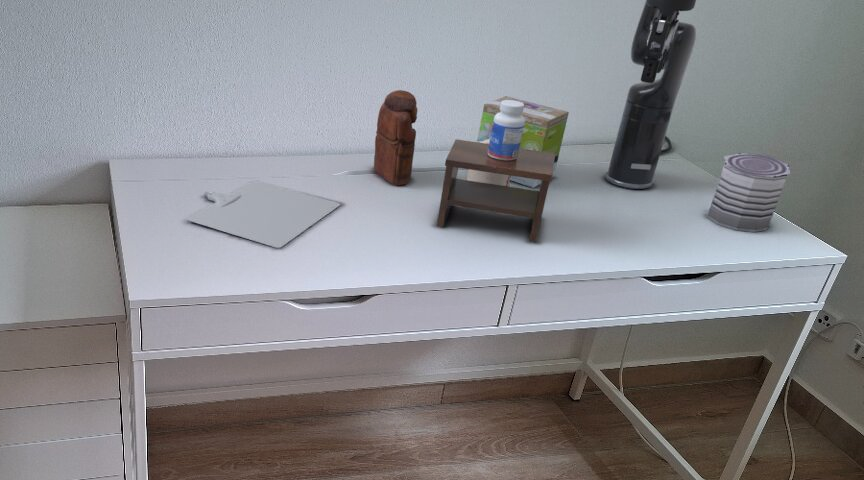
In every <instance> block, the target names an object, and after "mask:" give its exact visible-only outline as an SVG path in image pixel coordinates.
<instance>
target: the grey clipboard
mask: <svg viewBox="0 0 864 480" xmlns="http://www.w3.org/2000/svg"><path fill="white" fill-rule="evenodd" d="M203 196H204V197H207V199H208V200H209V201H212V202H213V203H211V204H209V205H207V206H206V207H204V208H202V209H200V210H199V211H197V212H195V213H194V214H191V215H190V216H188V217H187V218H186V220H187V221H189V222H192V223H195V224H197V225H201V226H203V227H207V228H211V229H214V230H217V231H220V232H224V233H226V234H227V233H228V234H230V235H233V236H238V237H240V238H244V239H247V240H250V241H253V242H257V243H259V244H262V245H266V246H269V247H272V248H277V249H281V248H282V247H284V246H285V245H287V244H288V243H289V242H291V241H292V240H293V239H295V238H297V236H299V235H300V234H302V233H303V232H305V231H306V230H308V229H309V228H311V227H312V226H313V225H315V224H316V223H317V222H319V221H320V220H321V219H323V218H325V217H326V216H327V215H329V214H330V213H332V212H333V211H334V210H336V209H337V208H339V207H340V206H341V203H339V202H336V201H333V200H330V199H329V200H328V199H325V198H321V197H318V196H315V195H311V194H307V193H304V192H300V191H296V190H293V189H290V188H286V187H282V186H278V185H275V184H271V183H267V182H264V181H260V180H252V181H250V182H249V183H247V184H245V185H243V186H241V187H239V188H238V189H236V190H234V191H233V192H231V193H221V192H217V191H211V192H208V191H204V192H203Z"/></svg>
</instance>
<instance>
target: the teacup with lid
mask: <svg viewBox="0 0 864 480" xmlns="http://www.w3.org/2000/svg"><path fill="white" fill-rule="evenodd" d="M489 142H490V139H487V140H484V141H480V142H479V143H486V144H489ZM510 177H511V176H510V175H503V174H497V173H490V172H483V171H477V170H470V169H467V172H466V178H465V180H469V181H475V182H482V183H489V184H495V185H502V186H508V187H510V181H511V180H510Z"/></svg>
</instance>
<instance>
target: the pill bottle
mask: <svg viewBox="0 0 864 480" xmlns="http://www.w3.org/2000/svg"><path fill="white" fill-rule="evenodd" d="M523 109H524V104H523V103H522V102H519V101H514V100H504V101H502V102H501V105H500V111H501V112H499V113H497V114H496V115H495V117H494V121H493V126H492V132H491V137H490V142H489V148H488V155H489V156H490V157H492V158H494V159H498V160H504V161H511V160H514V159H516V158H517V157H518V153H519V148H520V143H521V138H522V133H523V129H524V124H525V118H524V117H523V116H522V115H521V113H522V112H523Z"/></svg>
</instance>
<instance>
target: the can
mask: <svg viewBox="0 0 864 480" xmlns="http://www.w3.org/2000/svg"><path fill="white" fill-rule="evenodd" d="M790 174H791V169H790V164H789V163H788V162H785V161H782V160H780V159H777V158H776V157H774V156H770V155H766V154H759V153H749V152H739V153H734V154H729V155H724V164H723V167H722V170H721V173H720V176H719V179H718V182H717V185H716V188H715V191H714V194H713V198H712V200H711V203H710V207H709V209H708V213H707V219H708V220H710V221H711V222H713V223H715V224H716V225H717V226H720V227H724V228H727V229H729V230H734V231H738V232H747V233H748V232H749V233H758V232H763V231H767V230H768V229H769V227H770V224H771V221H772V218H773V215H774V213H775V210H776V207H777V204H778V202H779V199H780V197H781V195H782V191H783V188H784V186H785V183H786V180H787V178H788V175H790Z"/></svg>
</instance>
